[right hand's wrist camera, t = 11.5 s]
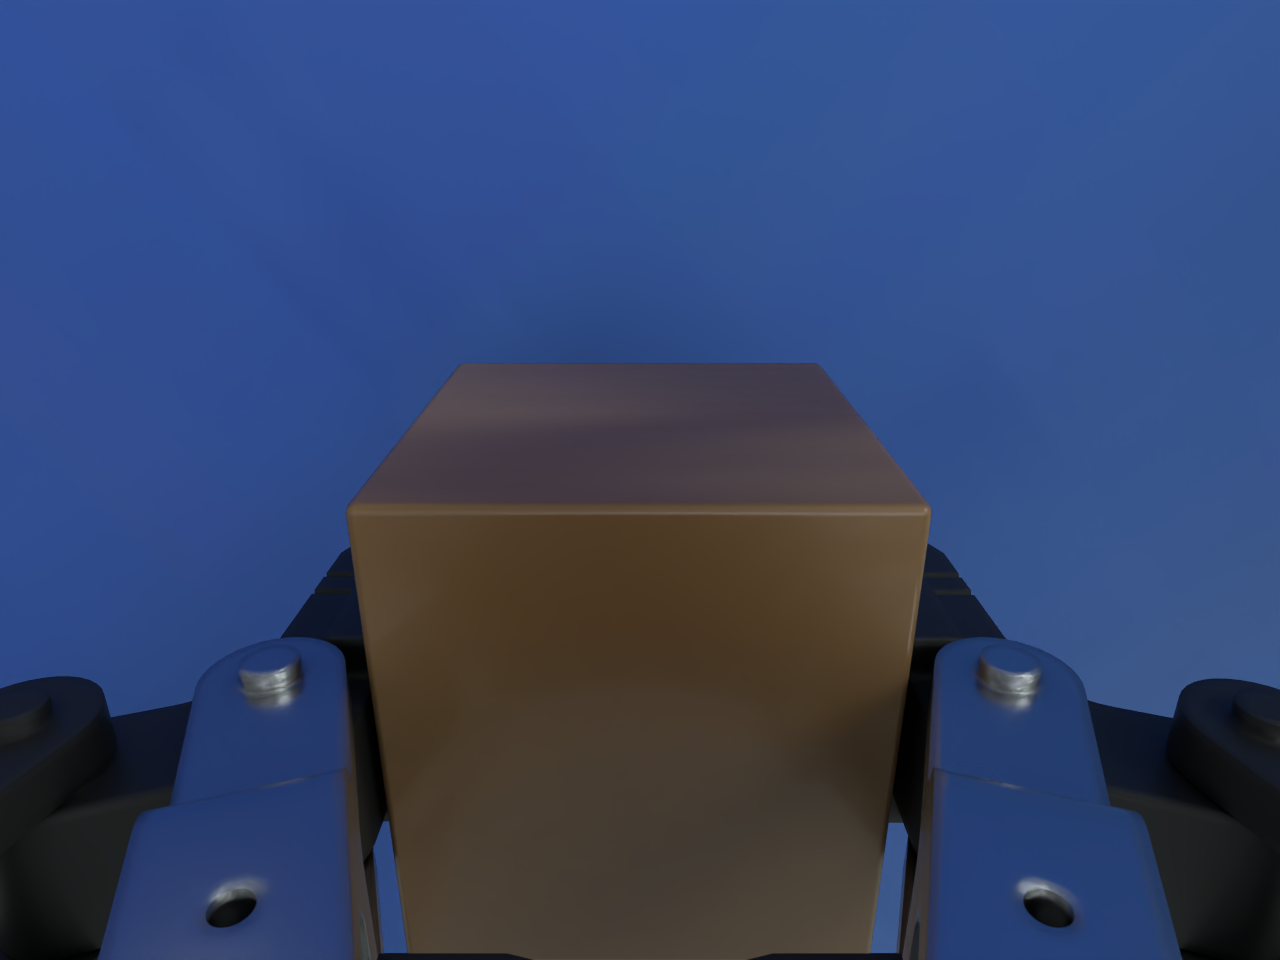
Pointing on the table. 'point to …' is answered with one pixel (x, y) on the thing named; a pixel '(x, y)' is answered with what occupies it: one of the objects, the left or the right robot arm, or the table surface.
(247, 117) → the table surface
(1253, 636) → the table surface
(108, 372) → the table surface
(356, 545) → the brick
